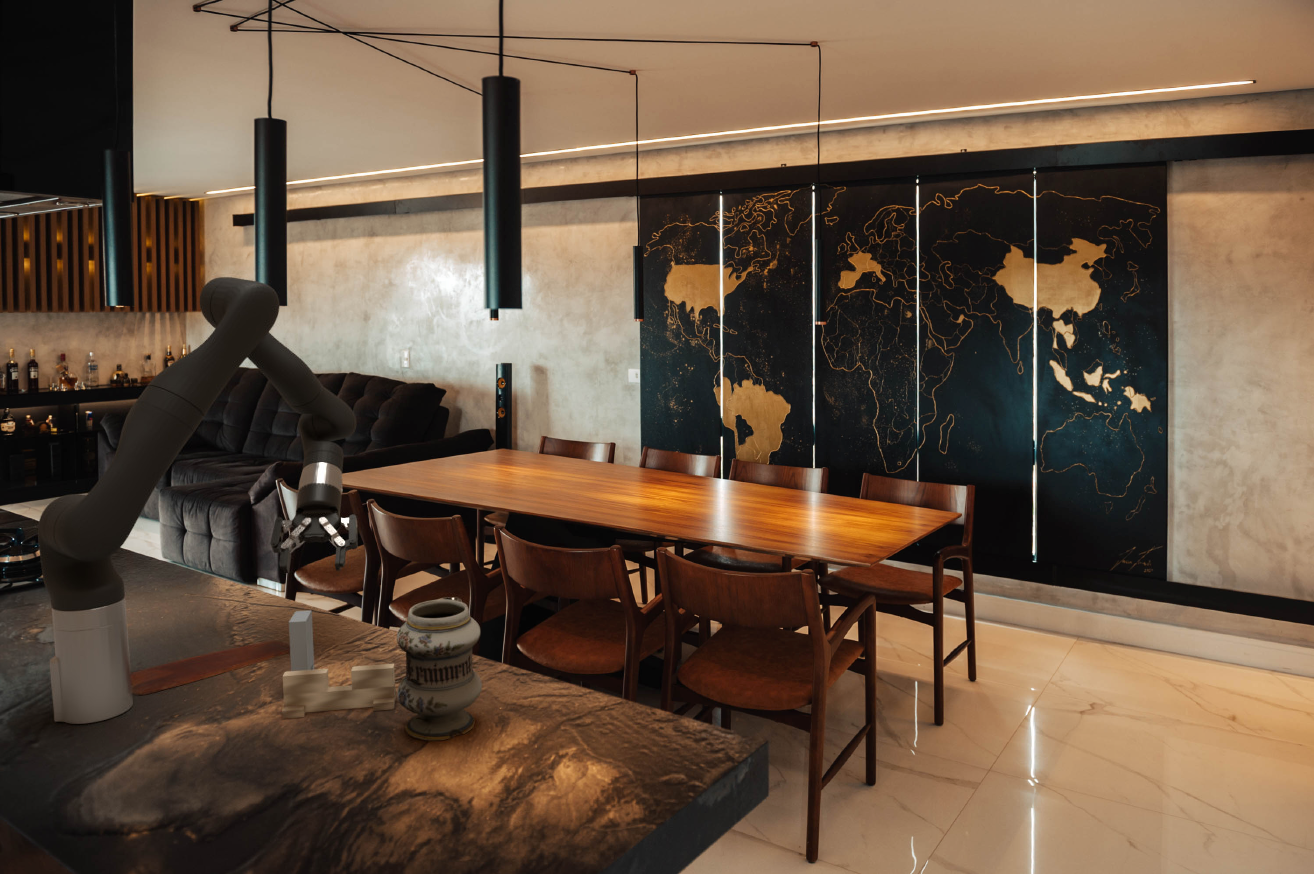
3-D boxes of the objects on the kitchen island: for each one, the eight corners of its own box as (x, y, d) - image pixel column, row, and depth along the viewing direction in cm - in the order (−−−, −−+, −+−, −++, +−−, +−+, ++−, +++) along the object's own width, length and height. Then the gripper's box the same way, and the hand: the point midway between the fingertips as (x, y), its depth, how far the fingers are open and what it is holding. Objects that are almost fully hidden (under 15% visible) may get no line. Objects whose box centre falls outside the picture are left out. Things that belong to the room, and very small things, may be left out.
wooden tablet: (138, 702, 134) (137, 692, 134) (117, 684, 141) (116, 674, 141) (301, 654, 154) (301, 645, 154) (276, 640, 161) (276, 632, 160)
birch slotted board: (282, 718, 127) (280, 680, 126) (289, 704, 132) (287, 667, 131) (393, 709, 131) (392, 671, 130) (396, 695, 135) (395, 659, 135)
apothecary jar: (428, 753, 117) (424, 627, 115) (382, 726, 125) (378, 608, 123) (499, 724, 126) (497, 607, 124) (452, 700, 134) (449, 589, 132)
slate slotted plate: (292, 694, 136) (288, 622, 134) (298, 681, 141) (295, 611, 139) (308, 693, 136) (305, 621, 135) (314, 679, 141) (311, 610, 140)
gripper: (275, 482, 153) (263, 561, 143) (358, 479, 156) (352, 556, 146) (282, 505, 159) (272, 582, 149) (362, 502, 162) (357, 578, 152)
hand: (312, 569), depth 148 cm, fingers open, 8 cm apart
